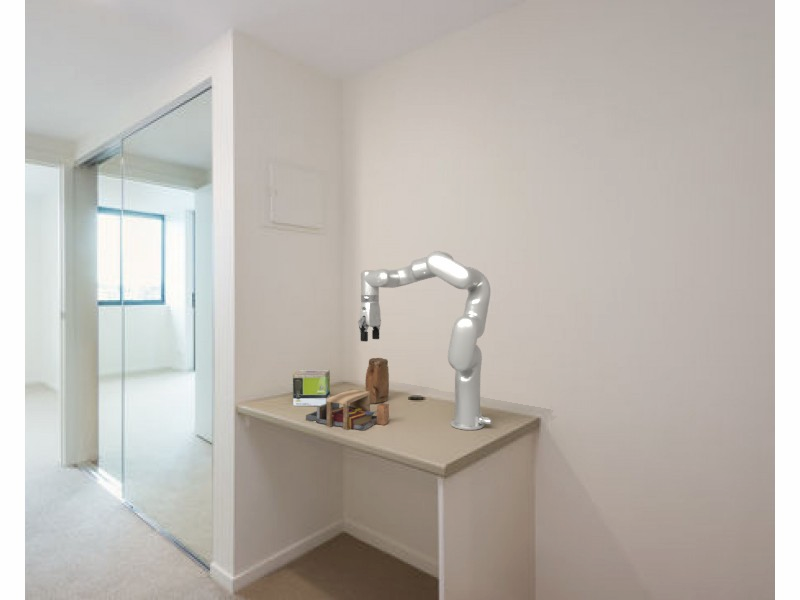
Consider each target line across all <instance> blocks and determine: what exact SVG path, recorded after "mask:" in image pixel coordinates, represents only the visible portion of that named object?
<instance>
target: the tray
mask: <svg viewBox="0 0 800 600" xmlns="http://www.w3.org/2000/svg"><path fill="white" fill-rule="evenodd" d="M389 407H390V404H389V403H385V402H380V404H379V403H378V404H377V405H376V415H374V414H372V420H371V421H369V422H367V423H365V424H363V425H357V424H353V429H352V430H354V429H355V430H360V431H365V430H366V429H369V428H370V427H372V426H373V425H376V424H377V425H381V426H384V425H387V424H388V423H389V421H390V419H389V417H390V412H389V411H390V408H389ZM339 408H340V403H334V402H332V410H335V409H339ZM316 411H317V422H316V423H318V424H324V425H327V403H326V404H323V405H321V406H316ZM332 426H336V427H341V428H343V422H338V421H332Z"/></svg>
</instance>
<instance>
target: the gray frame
mask: <svg viewBox="0 0 800 600" xmlns="http://www.w3.org/2000/svg"><path fill="white" fill-rule="evenodd" d="M307 420H308V422H313V421H316V422H315V423H317V410H315V411H313V412H311V413H309V414H306V415H305V421H307Z"/></svg>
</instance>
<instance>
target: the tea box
mask: <svg viewBox="0 0 800 600" xmlns="http://www.w3.org/2000/svg"><path fill="white" fill-rule="evenodd" d="M330 375H331V373H330V369H307V370H306V369H305V370H304V369H303V370H302V369H299V370H297V371H296V372H294V373H292V402H293V403H292V406H293V407H301V406H302V407H305V406H306V407H311V406H314V407H318V406H321V405H323V404H326V403H327V398H329V397H331V384H330V383H331V381H330V380H331V379H330V377H331V376H330Z"/></svg>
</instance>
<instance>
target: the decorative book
mask: <svg viewBox="0 0 800 600" xmlns="http://www.w3.org/2000/svg"><path fill="white" fill-rule="evenodd" d="M372 415H374V411H371V410H370V411H364V410H362V409H360V408H358V409H356V408H354V407H351V406H349V429H350V430H354V429H353V424H357V425H363V424H365V423H367V422H369V421H371V420H372ZM332 421H338V422H343V406H341V407H339V409H335V410H332Z"/></svg>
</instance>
